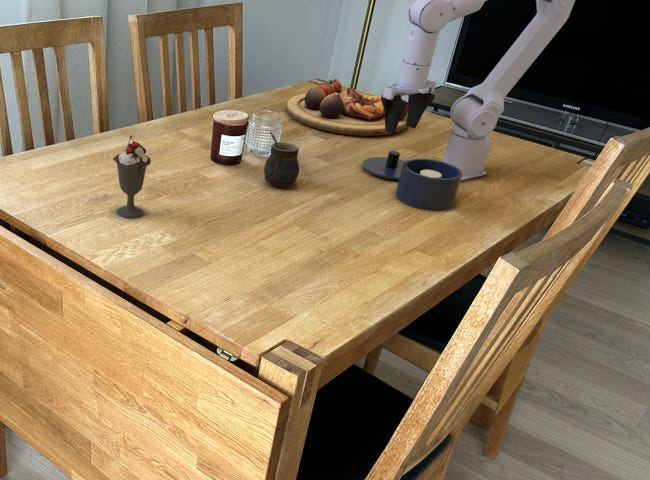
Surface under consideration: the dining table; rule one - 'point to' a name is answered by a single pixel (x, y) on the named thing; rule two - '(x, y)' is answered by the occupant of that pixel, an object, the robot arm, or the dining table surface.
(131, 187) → the sundae
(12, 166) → the dining table surface
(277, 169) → the mate gourd
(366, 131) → the wooden plate
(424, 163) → the dark blue round container
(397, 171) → the lid
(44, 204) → the dining table surface
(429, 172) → the tub
